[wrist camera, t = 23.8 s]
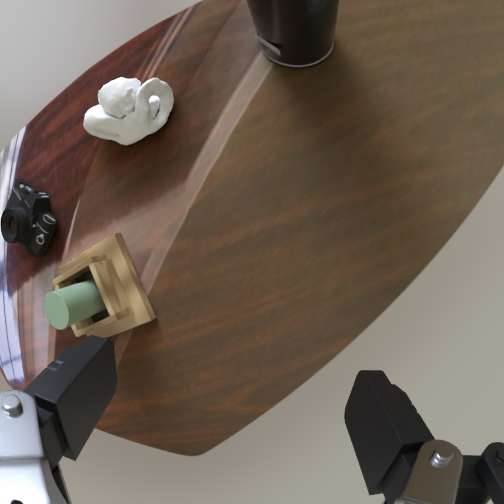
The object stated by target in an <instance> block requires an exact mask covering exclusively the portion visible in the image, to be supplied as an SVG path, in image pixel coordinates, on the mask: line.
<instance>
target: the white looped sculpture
mask: <svg viewBox="0 0 504 504" xmlns="http://www.w3.org/2000/svg"><path fill="white" fill-rule="evenodd" d="M140 84H141V82H140V81H139V80H138V79H136V78H134V79H127V78H123V77H121V78H117V79H115V80H113V81H110V82H109V83H108V84H106V85H104V86H103V87H102V89H101V90H99V93H98V100H99V105H97V106H94V107H92V108H90V109H89V110H88V111H87V113H86V114H85V118H84V128H85V129H86V130H87V131H88V132H89V133H90V134H91V135H93V136H97V137H100V138H102V139H103V138H105V139H108V140H114V141H116V142H118V143H120V144H124V145H130V144H133V143H135V142H137V141H138V140H141V139H142V138H144V137H145V136H147V135H148V134H152V133H154V132H156V131H158V130H159V129H160V128H161V127H162V126H163V125H164V124H165V123H166V122H167V118H168V116H169V114H170V111H171V110H172V108H173V103H174V97H173V92H172V89H171V88H170V87H169V85H168V84H167V83H166V82H164V81H160V80H159V79H158V78H152V79H150V80H148V81H146V82H145V83H144V84H143V85H142V86H141V85H140ZM158 109H159V112H158V113H157V111H158ZM156 113H157V115H156ZM153 119H154V120H153Z"/></svg>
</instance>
